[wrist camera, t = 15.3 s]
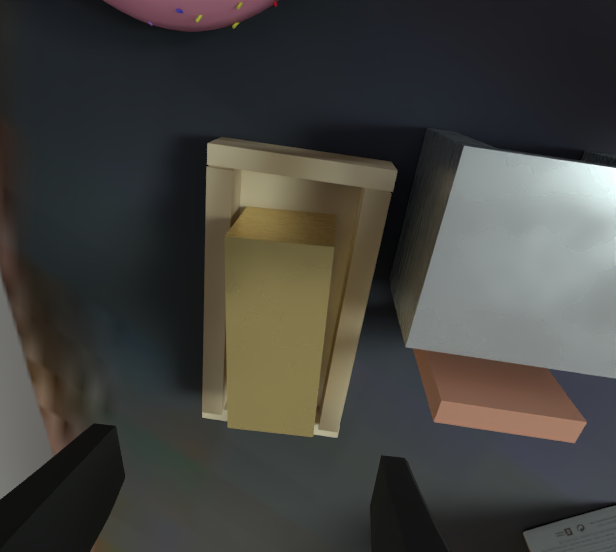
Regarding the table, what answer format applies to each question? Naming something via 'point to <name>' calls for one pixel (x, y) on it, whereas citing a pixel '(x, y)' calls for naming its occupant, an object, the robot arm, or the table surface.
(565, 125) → the table surface
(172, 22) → the doughnut
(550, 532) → the small box
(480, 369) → the salmon pink block
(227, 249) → the olive rectangular pillar
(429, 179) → the socket sleeve
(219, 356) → the beige tray
